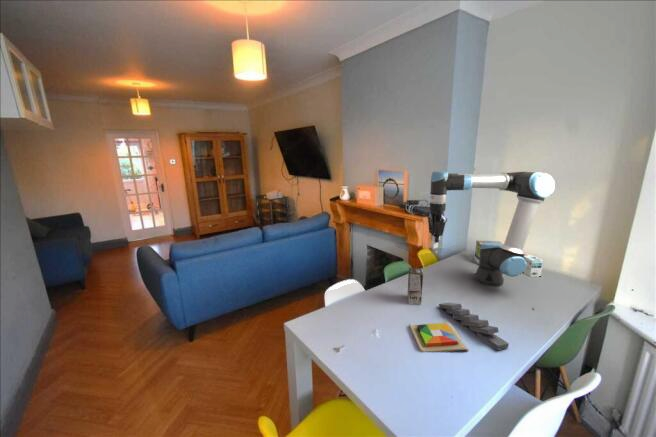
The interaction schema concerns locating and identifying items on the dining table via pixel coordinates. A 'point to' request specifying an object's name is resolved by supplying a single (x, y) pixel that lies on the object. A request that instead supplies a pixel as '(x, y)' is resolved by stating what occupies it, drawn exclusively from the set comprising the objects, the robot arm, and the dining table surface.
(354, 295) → the dining table surface
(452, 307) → the domino
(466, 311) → the domino
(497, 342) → the domino
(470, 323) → the domino
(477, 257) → the tea box
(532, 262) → the light bulb box
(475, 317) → the domino
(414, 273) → the coffee box
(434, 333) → the wooden puzzle
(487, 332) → the domino
